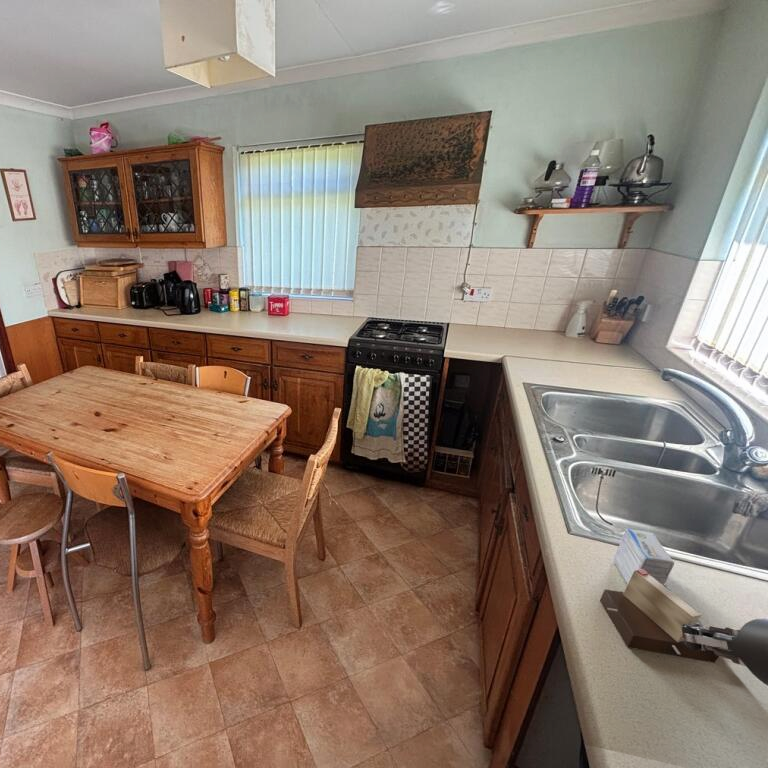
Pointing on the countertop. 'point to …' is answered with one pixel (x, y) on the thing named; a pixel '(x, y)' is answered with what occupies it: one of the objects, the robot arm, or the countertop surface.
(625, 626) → the dark brown flat slab
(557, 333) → the countertop surface
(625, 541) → the medicine box
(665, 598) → the dial pointer
